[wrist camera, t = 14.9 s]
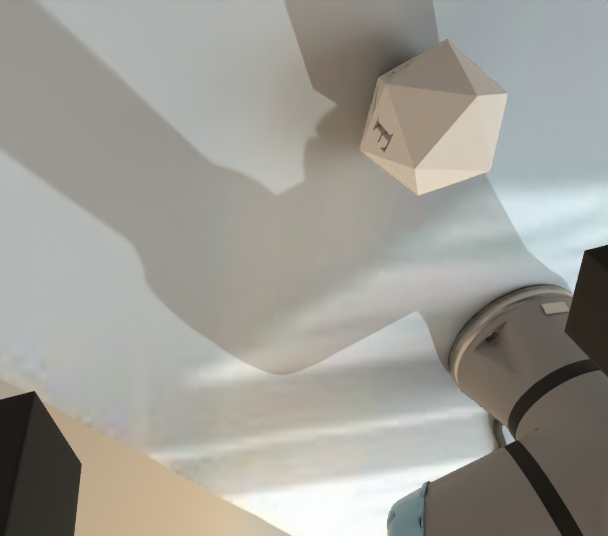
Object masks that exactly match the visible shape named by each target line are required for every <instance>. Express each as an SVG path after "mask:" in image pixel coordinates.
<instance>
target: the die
mask: <svg viewBox="0 0 608 536" xmlns="http://www.w3.org/2000/svg"><path fill="white" fill-rule="evenodd" d="M507 97H508V93H507V92H506V91H505V90H504V89H503V88H502V87H501V86H500V85H498V84H497V83H496V82H495V81H494V80H493V79H492V78H491V77H489V76H488V75H487V74H486V73H485V72H484V71H483V70H482V69H480V68H479V67H478V66H477V65H476V64H475V63H474V62H473V61H471V60H470V59H469V58H468V57H467V56H466V55H465V54H464V53H462V52H461V51H460V50H459V49H458V48H457V47H456V46H455V45H453V44H452V43H451V42H450V41H449V40H448V39H446V40H445V41H443V42H441V43H439V44H437V45H436V46H434V47H432V48H430V49H428V50H426V51H425V52H423V53H421V54H419V55H417V56H416V57H414V58H412V59H410V60H408V61H406V62H405V63H403V64H401V65H399V66H397V67H396V68H394V69H392V70H390V71H388V72H386V73H385V74H383V75H381V76H379V77H378V79H377V83H376V87H375V91H374V94H373V98H372V103H371V106H370V110H369V113H368V117H367V121H366V125H365V129H364V132H363V136H362V140H361V144H360V147H359V150H360V151H362V152H363V153H364V154H365V155H367V156H368V157H369V158H371V159H372V160H373V161H374V162H376V163H377V164H378V165H379V166H381V167H382V168H383V169H384V170H386V171H387V172H388V173H390V174H391V175H392V176H393V177H395V178H396V179H397V180H398V181H400V182H401V183H402V184H404V185H405V186H406V187H407V188H409V189H410V190H411V191H412V192H414V193H415V194H416V195H417V196H419V195H422V194H425V193H428V192H431V191H433V190H436V189H439V188H442V187H445V186H448V185H451V184H454V183H457V182H460V181H463V180H465V179H468V178H471V177H474V176H477V175H480V174H483V173H486V172H489V171H490V170H491V165H492V161H493V157H494V152H495V148H496V144H497V140H498V135H499V131H500V127H501V123H502V118H503V114H504V110H505V105H506V101H507Z"/></svg>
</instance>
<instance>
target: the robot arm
mask: <svg viewBox="0 0 608 536" xmlns="http://www.w3.org/2000/svg"><path fill="white" fill-rule="evenodd" d="M449 368H450V372H451V374H452V376H453V378H454V379H455V381H456V383H457V384H458V386H459V387H460V389H461V390H462V392H463V393H464V394H466V395H467V396H468V397H470V398H471V399H472V400H474V401H475V402H476V403H477V404H479V405H480V406H481V407H482V408H483V409H485V410H486V411H487V412H488V413H490V414H491V415H492V416H493V417H495V418H496V419H495V422H494V434H495V437H496V440H497V442H498V446H499V449H498V450H496V451H494V452H492V453H490V454H488V455H486V456H484V457H482V458H480V459H478V460H476V461H474V462H472V463H470V464H468V465H466V466H464V467H462V468H460V469H457V470H455V471H453V472H451V473H449V474H447V475H445V476H443V477H441V478H439V479H437V480H435V481H433V482H430V481H428V482H426V483H424V484H423V486H422V487H421V488H420V489H418V490H416V491H414V492H412V493H411V494H409V495H407V496H405V497H404V498H402V499H400V500H398V501H397V502H396V503H395V504H394V505H393V506H392V508H391V510H390V512H389V514H388V519H387V534H388V536H608V245H605V246H601V247H597V248H594V249H590V250H586V251H584V255H583V259H582V263H581V267H580V271H579V275H578V279H577V283H576V287H575V291H574V295H572V294H571V293H570V292H569V291H567V290H566V289H563V288H561V287H557V286H551V285H541V286H533V287H528V288H524V289H521V290H518V291H515V292H512V293H510V294H508V295H506V296H504V297H502V298H500V299H498V300H496V301H495V302H493V303H491V304H490V305H488V306H487V307H486V308H484V309H483V310H482V311H480V312H479V313H478V314H477V315H476V316H475V317H474V318H473V319H472V320H471V321H470V322H469V323H468V324H467V325H466V326H465V327H464V328H463V330H462V331H461V332H460V334H459V335H458V337H457V339H456V340H455V342H454V344H453V347H452V349H451V353H450V357H449ZM503 424H504V425H505V426H506V427H507V429H508V430H509V431H510V433H511V435H512V436H513V438H514V439H515V440H516V441H514V442H512V443H510V444H508V445H506V442H505V439H504V436H503V433H502V425H503ZM80 474H81V462H80V461H79V459H78V458H77V457H76V455H75V453H74V452H73V450H72V448H71V447H70V445H69V444H68V442H67V441H66V439H65V438H64V436H63V435H62V433H61V432H60V430H59V428H58V427H57V425H56V423H55V422H54V420H53V419H52V417H51V416H50V414H49V413H48V411H47V409H46V408H45V406H44V405H43V403H42V402H41V400H40V399H39V397H38V395H37V394H36V392H35V391H33V392H29V393H25V394H21V395H17V396H13V397H9V398H5V399H1V400H0V536H74V531H75V530H74V529H75V521H76V512H77V502H78V493H79V484H80Z"/></svg>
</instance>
